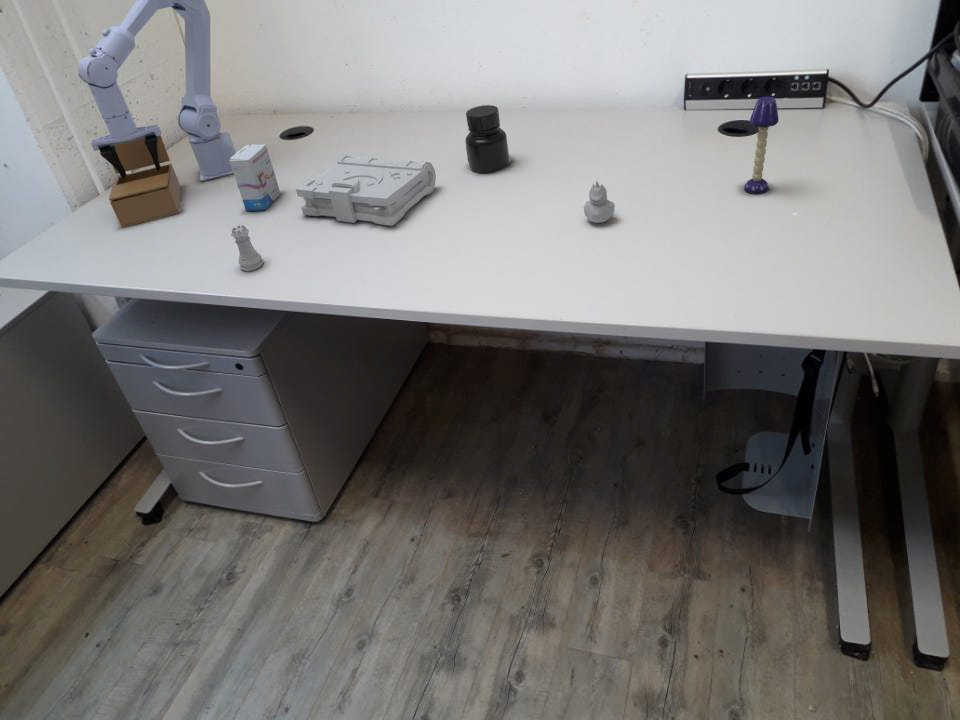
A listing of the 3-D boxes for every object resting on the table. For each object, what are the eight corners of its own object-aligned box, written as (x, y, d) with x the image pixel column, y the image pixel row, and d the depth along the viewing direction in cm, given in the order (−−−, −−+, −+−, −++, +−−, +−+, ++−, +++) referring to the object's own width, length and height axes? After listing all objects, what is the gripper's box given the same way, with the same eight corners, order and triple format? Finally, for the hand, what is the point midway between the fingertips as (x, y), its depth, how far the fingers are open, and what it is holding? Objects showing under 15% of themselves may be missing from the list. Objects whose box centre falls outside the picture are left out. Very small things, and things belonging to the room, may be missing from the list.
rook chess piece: (242, 262, 144) (228, 224, 139) (265, 258, 144) (252, 220, 139) (238, 273, 140) (224, 235, 136) (262, 269, 140) (248, 231, 136)
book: (336, 177, 171) (328, 145, 167) (441, 187, 159) (435, 152, 154) (282, 216, 158) (271, 182, 154) (391, 230, 146) (383, 194, 141)
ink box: (266, 211, 162) (248, 158, 155) (245, 211, 163) (226, 160, 156) (282, 193, 168) (265, 142, 161) (262, 194, 170) (244, 143, 162)
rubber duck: (581, 227, 136) (578, 186, 131) (589, 210, 141) (587, 170, 136) (610, 228, 134) (609, 186, 129) (618, 211, 139) (617, 170, 134)
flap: (115, 173, 174) (116, 173, 175) (170, 160, 176) (170, 160, 176) (101, 139, 171) (102, 139, 171) (157, 126, 173) (157, 126, 173)
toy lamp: (773, 184, 138) (782, 94, 128) (769, 196, 135) (778, 104, 125) (746, 183, 140) (752, 94, 130) (741, 194, 137) (748, 103, 127)
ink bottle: (500, 153, 169) (493, 99, 162) (518, 164, 162) (512, 109, 155) (461, 165, 166) (452, 112, 159) (478, 178, 160) (469, 122, 152)
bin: (127, 200, 178) (115, 173, 174) (181, 187, 180) (170, 160, 176) (121, 227, 166) (108, 199, 162) (179, 213, 168) (167, 184, 164)
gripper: (150, 100, 168) (174, 158, 176) (84, 116, 166) (111, 174, 174) (148, 110, 162) (173, 169, 170) (79, 126, 160) (108, 185, 168)
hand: (141, 172), depth 172 cm, fingers open, 7 cm apart
